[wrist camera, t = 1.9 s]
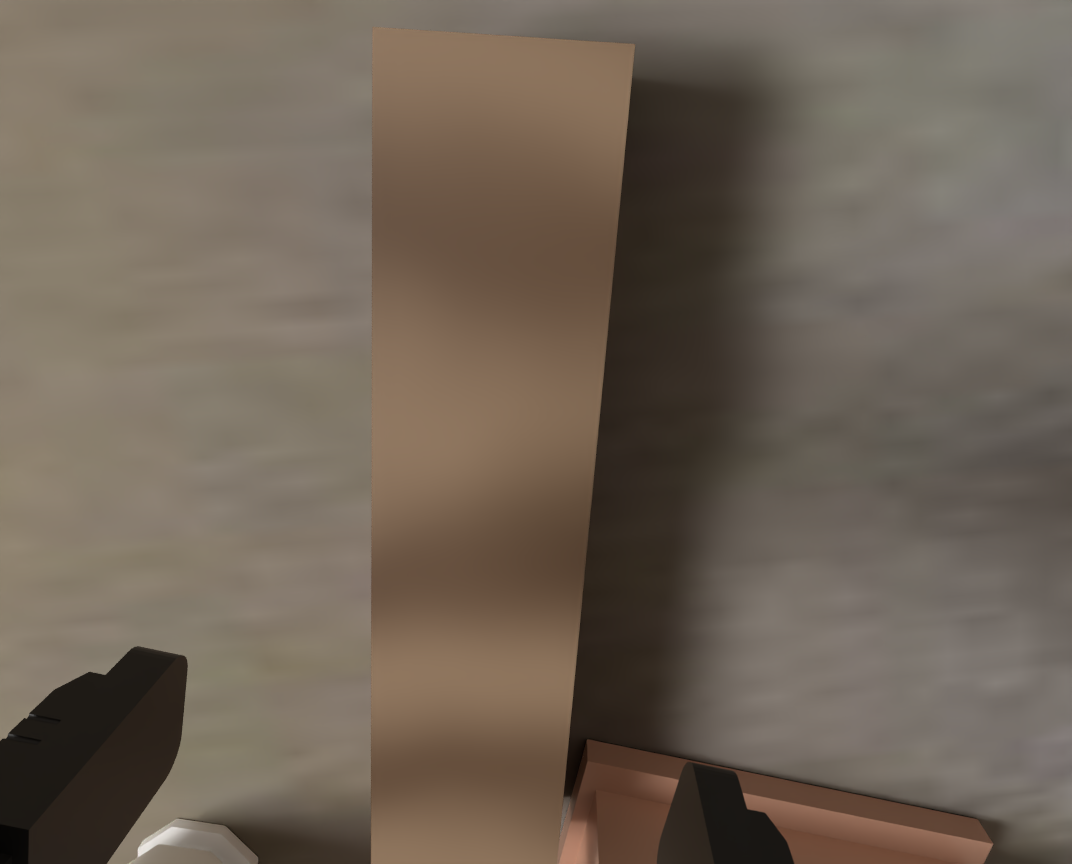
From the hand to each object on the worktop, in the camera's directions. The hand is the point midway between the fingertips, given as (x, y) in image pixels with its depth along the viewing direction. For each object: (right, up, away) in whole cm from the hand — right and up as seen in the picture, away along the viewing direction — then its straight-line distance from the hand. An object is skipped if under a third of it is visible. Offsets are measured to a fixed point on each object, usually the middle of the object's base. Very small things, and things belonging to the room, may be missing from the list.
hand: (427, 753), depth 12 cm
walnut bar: (+1, +4, +11) cm, 11 cm away
